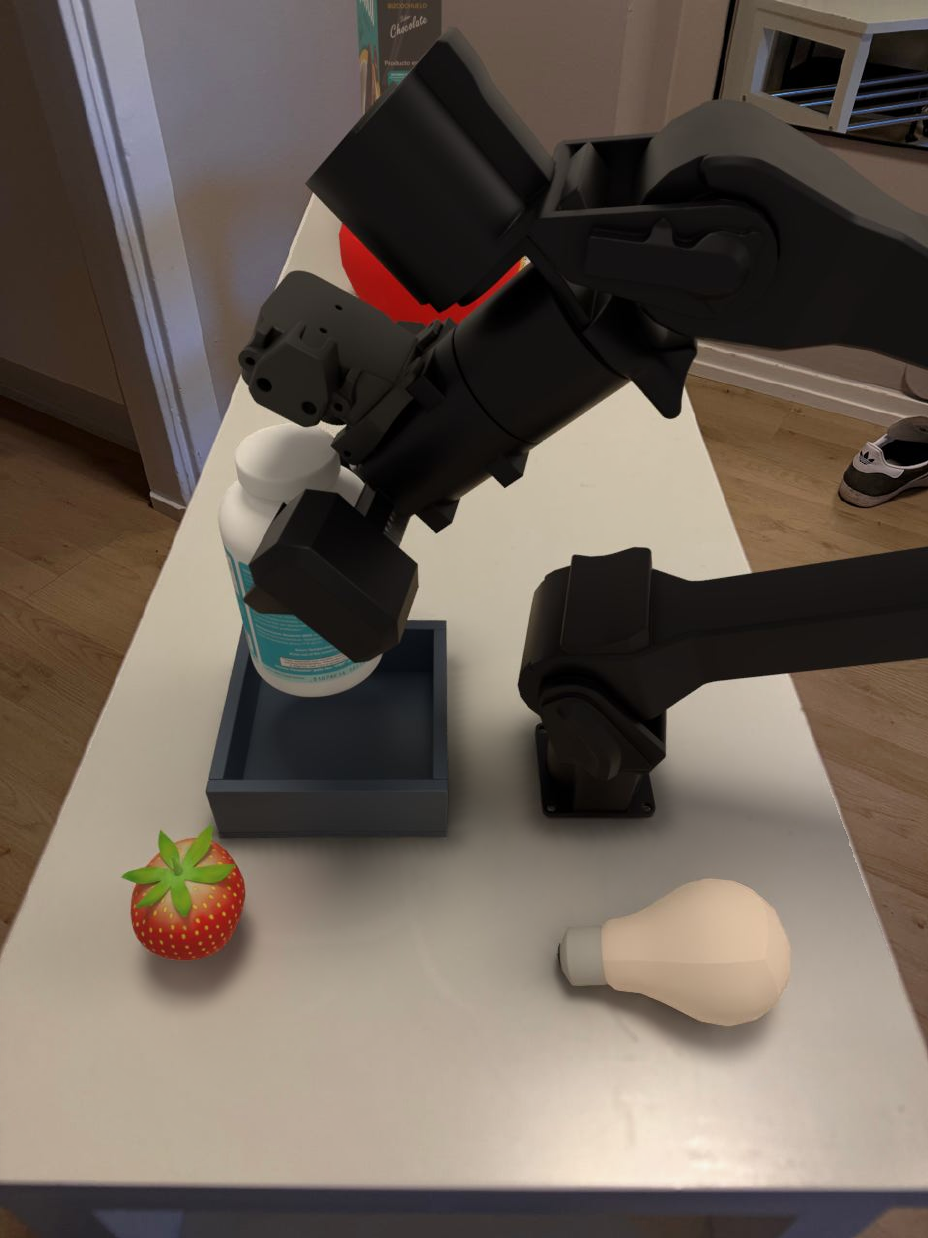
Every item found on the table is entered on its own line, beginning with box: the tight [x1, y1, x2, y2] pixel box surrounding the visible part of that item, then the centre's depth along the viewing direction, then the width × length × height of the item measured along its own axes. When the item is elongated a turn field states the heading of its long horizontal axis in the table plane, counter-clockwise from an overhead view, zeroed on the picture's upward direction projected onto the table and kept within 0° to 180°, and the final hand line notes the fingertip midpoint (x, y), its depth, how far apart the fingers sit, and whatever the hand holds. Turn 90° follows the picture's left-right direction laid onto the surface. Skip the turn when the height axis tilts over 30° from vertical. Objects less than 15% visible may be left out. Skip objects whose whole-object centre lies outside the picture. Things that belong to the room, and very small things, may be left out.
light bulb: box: [556, 877, 792, 1027], centre depth 42 cm, size 7×7×11 cm
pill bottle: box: [217, 422, 382, 697], centre depth 44 cm, size 8×7×14 cm
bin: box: [205, 619, 449, 838], centre depth 51 cm, size 13×13×4 cm
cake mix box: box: [355, 0, 443, 117], centre depth 95 cm, size 22×6×30 cm, turn 10°
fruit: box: [120, 823, 246, 961], centre depth 41 cm, size 5×5×8 cm
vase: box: [338, 222, 521, 327], centre depth 86 cm, size 18×18×19 cm
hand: (279, 552), depth 44 cm, fingers closed on pill bottle, 7 cm apart
